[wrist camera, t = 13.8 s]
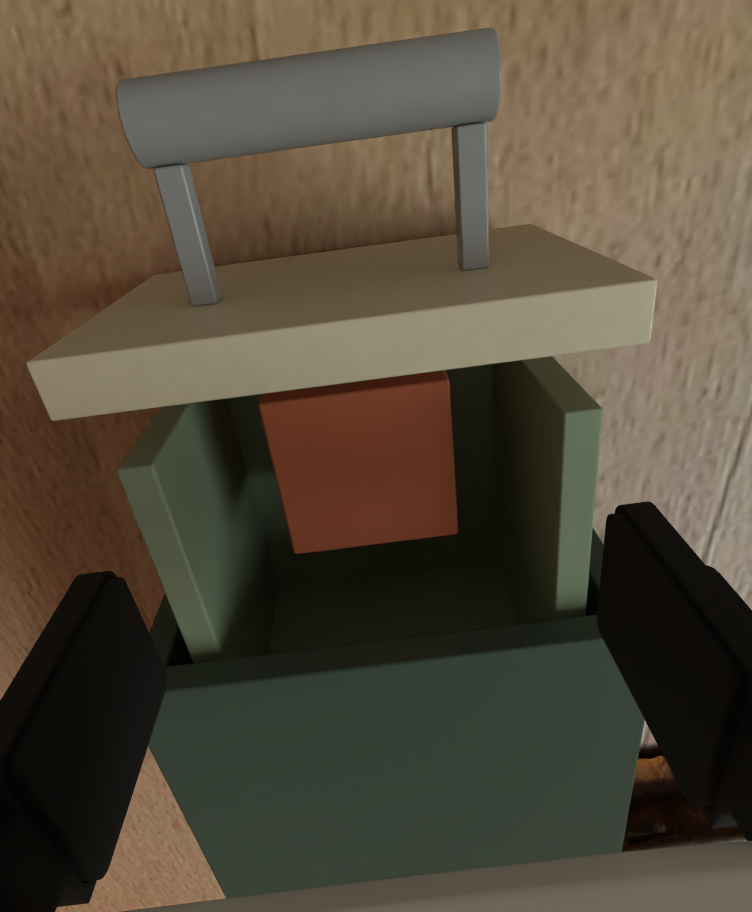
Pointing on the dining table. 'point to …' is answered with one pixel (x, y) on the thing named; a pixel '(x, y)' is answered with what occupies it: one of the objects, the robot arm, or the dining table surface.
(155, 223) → the dining table surface
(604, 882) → the robot arm
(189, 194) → the drawer
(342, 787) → the cabinet
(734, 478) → the dining table surface
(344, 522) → the block
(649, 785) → the food tray
